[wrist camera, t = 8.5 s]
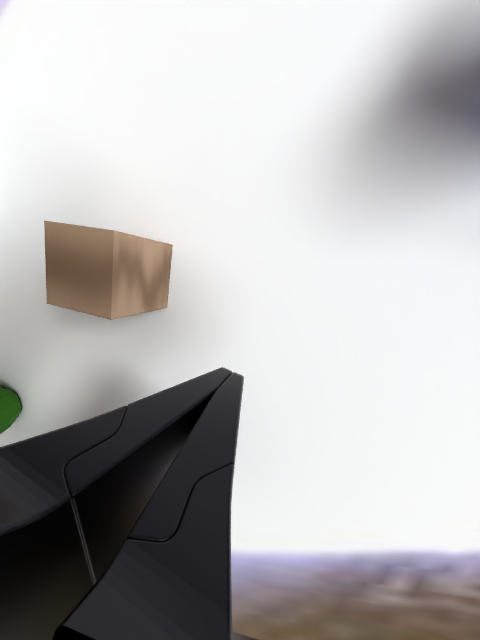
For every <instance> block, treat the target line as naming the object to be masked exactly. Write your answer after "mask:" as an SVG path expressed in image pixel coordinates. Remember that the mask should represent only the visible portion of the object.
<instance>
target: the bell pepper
mask: <svg viewBox="0 0 480 640" xmlns="http://www.w3.org/2000/svg"><path fill="white" fill-rule="evenodd" d="M20 412H21V405H20V400H19V398H18V396H17V394H16V393H14V392H13V391H11V390H10V389H3V387H2V386H1V385H0V434H1V433H2V432H4V431H5V430H6V429H8V428H9V427H10V426H11V425H12V424H13V423H14V421H15V420H16V418H17V417H18V416H19V414H20Z"/></svg>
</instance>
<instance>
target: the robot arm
mask: <svg viewBox="0 0 480 640" xmlns="http://www.w3.org/2000/svg"><path fill="white" fill-rule="evenodd" d="M243 381H244V377H243V376H242V375H240V374H237V373H235V372H234V373H232V371H230V370H228V369H226V368H223V367H222V368H219V369H216V370H214V371H211V372H209V373H206V374H204V375H201V376H199V377H196V378H194V379H191V380H189V381H186V382H184V383H181V384H179V385H176V386H174V387H171V388H168V389H166V390H163V391H161V392H158V393H156V394H153V395H151V396H148V397H146V398H143V399H141V400H138V401H136V402H133V403H131V404H129V405H128V406H123V407H120V408H118V409H115V410H113V411H110V412H108V413H105V414H102V415H100V416H97V417H94V418H92V419H89V420H86V421H83V422H79V423H76V424H73V425H70V426H67V427H64V428H61V429H58V430H55V431H51V432H48V433H45V434H42V435H39V436H35V437H32V438H29V439H26V440H23V441H19V442H16V443H13V444H10V445H7V446H3V447H0V640H232V595H231V499H232V486H233V475H234V464H235V455H236V446H237V437H238V428H239V418H240V409H241V400H242V391H243Z"/></svg>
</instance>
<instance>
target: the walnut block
mask: <svg viewBox="0 0 480 640" xmlns="http://www.w3.org/2000/svg"><path fill="white" fill-rule="evenodd" d="M44 224H45V257H46V289H47V304H51V305H55V306H59V307H63V308H67V309H71V310H75V311H79V312H83V313H87V314H91V315H95V316H99V317H103V318H107V319H116V318H121V317H125V316H130V315H135V314H139V313H144V312H148V311H153V310H158V309H162V308H167V302H168V291H169V279H170V268H171V256H172V245H171V244H167V243H163V242H158V241H154V240H150V239H146V238H142V237H138V236H134V235H130V234H126V233H122V232H118V231H113V230H106V229H99V228H92V227H85V226H78V225H71V224H64V223H57V222H50V221H44Z"/></svg>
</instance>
